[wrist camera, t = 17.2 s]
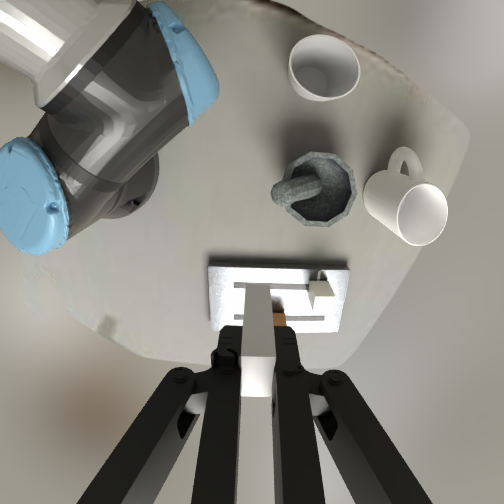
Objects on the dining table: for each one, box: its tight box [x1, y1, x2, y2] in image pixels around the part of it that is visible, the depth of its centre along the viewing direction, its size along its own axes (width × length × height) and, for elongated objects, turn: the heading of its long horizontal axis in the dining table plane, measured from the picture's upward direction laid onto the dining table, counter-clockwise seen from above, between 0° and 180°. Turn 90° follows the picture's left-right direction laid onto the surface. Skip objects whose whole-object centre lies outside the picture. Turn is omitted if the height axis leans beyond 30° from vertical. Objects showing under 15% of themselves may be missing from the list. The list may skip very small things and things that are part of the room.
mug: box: [363, 147, 448, 246], centre depth 35 cm, size 8×12×12 cm
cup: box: [288, 34, 360, 101], centre depth 31 cm, size 8×8×10 cm
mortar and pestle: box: [271, 151, 357, 227], centre depth 36 cm, size 11×9×12 cm
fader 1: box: [273, 313, 287, 326], centre depth 45 cm, size 3×3×5 cm
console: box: [208, 261, 350, 332], centre depth 47 cm, size 22×12×2 cm, turn 88°
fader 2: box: [308, 281, 336, 312], centre depth 43 cm, size 3×3×5 cm
